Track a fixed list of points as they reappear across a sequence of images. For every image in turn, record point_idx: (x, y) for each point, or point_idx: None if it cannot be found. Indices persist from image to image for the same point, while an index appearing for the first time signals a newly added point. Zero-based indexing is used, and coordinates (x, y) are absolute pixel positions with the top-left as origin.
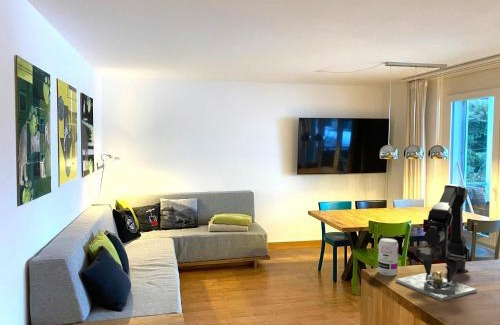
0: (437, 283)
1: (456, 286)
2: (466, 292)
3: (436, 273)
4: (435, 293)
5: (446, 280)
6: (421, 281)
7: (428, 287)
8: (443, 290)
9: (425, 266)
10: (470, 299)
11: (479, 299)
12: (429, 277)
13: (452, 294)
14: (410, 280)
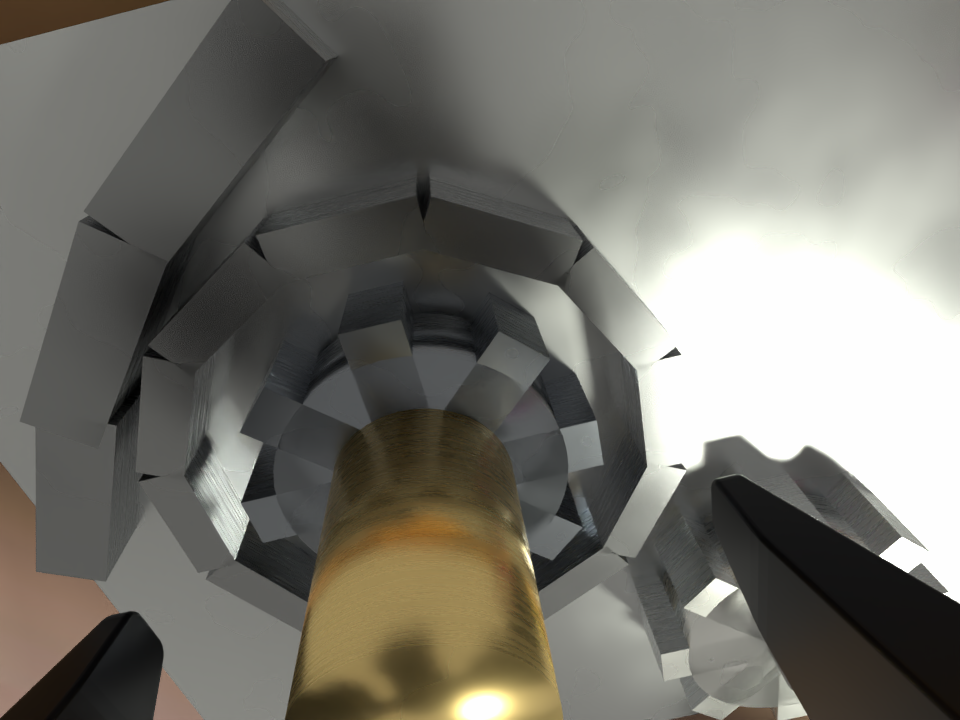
0: (349, 447)
1: None
2: (182, 675)
3: (348, 650)
4: (43, 151)
5: (641, 679)
6: (781, 319)
7: (190, 90)
8: (42, 367)
9: (953, 659)
10: (5, 605)
11: (21, 688)
12: None
13: (25, 458)
14: (955, 110)
